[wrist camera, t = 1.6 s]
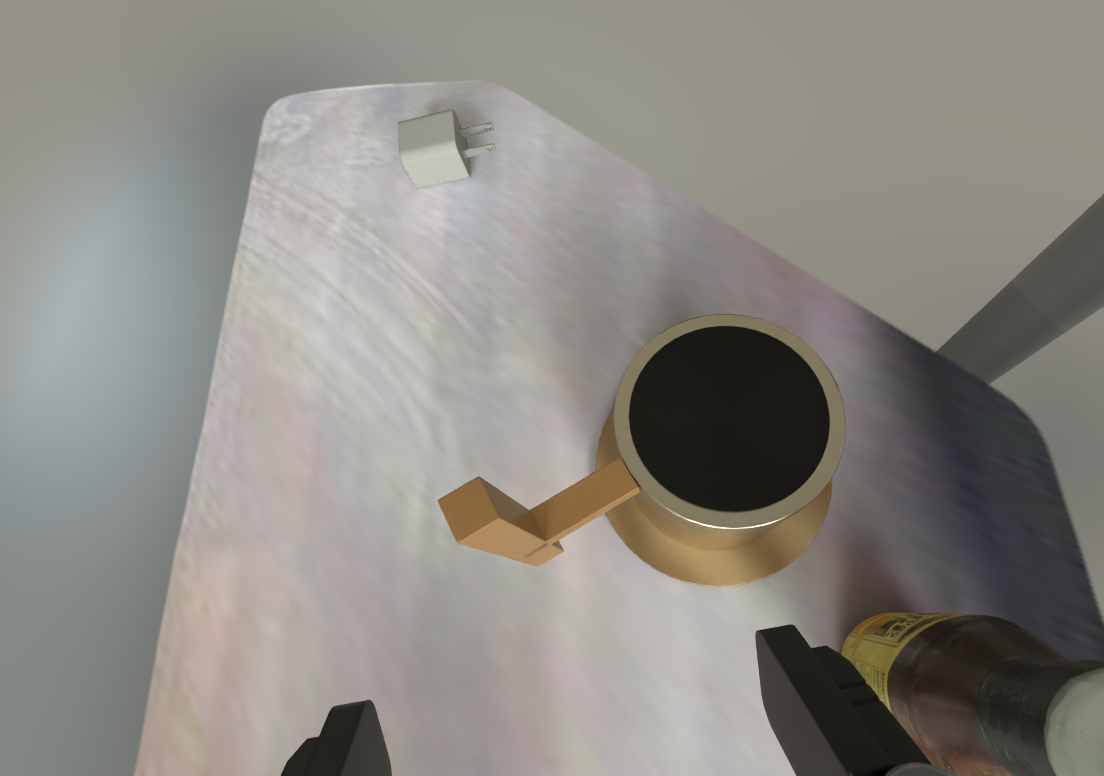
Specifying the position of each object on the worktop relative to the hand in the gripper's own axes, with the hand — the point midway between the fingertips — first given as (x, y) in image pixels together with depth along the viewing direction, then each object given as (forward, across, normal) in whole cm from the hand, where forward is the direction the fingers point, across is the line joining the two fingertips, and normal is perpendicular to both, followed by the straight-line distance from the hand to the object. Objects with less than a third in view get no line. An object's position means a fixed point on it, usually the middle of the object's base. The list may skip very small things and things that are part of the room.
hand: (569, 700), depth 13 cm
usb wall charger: (+42, +3, -16) cm, 45 cm away
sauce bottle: (+17, -16, +16) cm, 29 cm away
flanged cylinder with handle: (+24, -7, +7) cm, 26 cm away
